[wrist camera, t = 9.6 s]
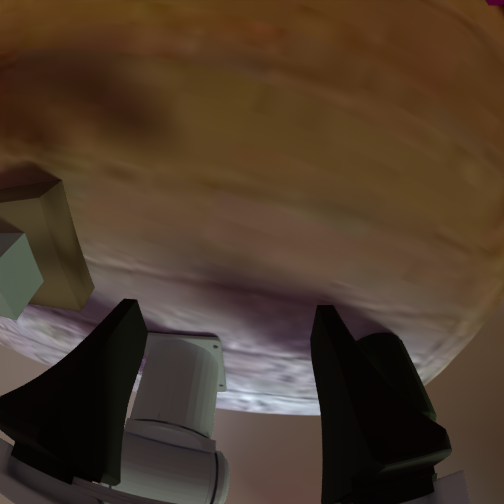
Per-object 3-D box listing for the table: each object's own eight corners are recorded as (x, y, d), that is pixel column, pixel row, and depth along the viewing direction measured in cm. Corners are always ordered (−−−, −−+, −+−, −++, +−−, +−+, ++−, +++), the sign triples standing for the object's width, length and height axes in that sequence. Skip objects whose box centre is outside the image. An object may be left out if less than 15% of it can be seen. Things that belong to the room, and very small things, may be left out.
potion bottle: (324, 374, 30) (340, 535, 15) (349, 324, 25) (387, 527, 10) (389, 373, 30) (420, 515, 15) (421, 325, 26) (478, 493, 11)
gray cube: (43, 281, 20) (16, 319, 16) (10, 277, 20) (-16, 311, 16) (24, 232, 17) (-11, 269, 13) (-8, 233, 17) (-41, 265, 14)
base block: (94, 287, 24) (80, 311, 21) (20, 280, 24) (6, 299, 21) (61, 180, 18) (39, 198, 16) (-13, 192, 18) (-34, 208, 16)
